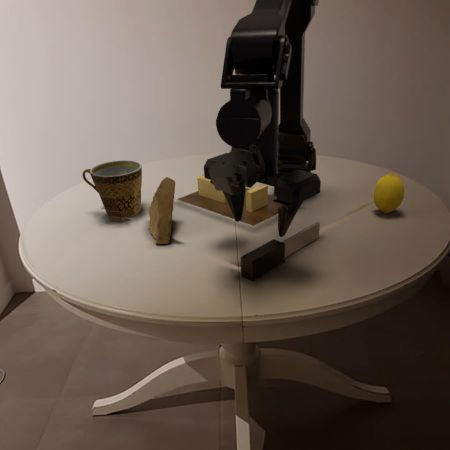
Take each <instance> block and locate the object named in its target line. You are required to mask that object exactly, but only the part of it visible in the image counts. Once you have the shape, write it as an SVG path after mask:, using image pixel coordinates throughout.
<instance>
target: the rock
mask: <svg viewBox="0 0 450 450" xmlns="http://www.w3.org/2000/svg"><path fill="white" fill-rule="evenodd" d="M175 191H176V181H175V180H173V179H172V178H170V177H168V176H166V177H164V178H163V179H162V180H161V181H160V183H159V185H158V186H157V187H156V191H155V192H154V194H153V196H152V201H151V203H150V206H149V209H148V215H149V222H148V223H149V224H148V228H147V230H149V233H150V234H151V235H152V237H153V238H154V239H155V243H156V244H157V245H168V244H169V243H170V240H171V233H172V223H173V211H174V203H175V200H174V199H175Z"/></svg>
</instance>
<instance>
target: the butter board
mask: <svg viewBox="0 0 450 450" xmlns="http://www.w3.org/2000/svg"><path fill="white" fill-rule="evenodd" d="M245 188H246V189H245V198H244V208H243V214H242V219H241V221H240V222H241V223H244V224H247V225H250V226H252V227H255V226H256V225H258V224H261V223H262V222H265V221H266V220H269V219H270V218H272V217H275V216H278V207H277V206H276V204H275V203H274V202H273V200H275V199H277V197H276V195H275V196H274V195H271V194H268V205H266V206H264V207H262V208H260V209H257V210H255V211H253V212H250V211H247V210H246V191H248V190H250V189H251V188H248V187H245ZM176 200H178V201H180V202H183V203H186V204H189V205H192V206H195V207H198V208H201V209H204V210H206V211H210V212H212V213H216V214H218V215H221V216H224V217H227V218H229V219H232V220H235V219H234V216H233V214H232V212H231V209H230V207H229V204H228V202H227V203H222V202H219V201H216V200H213V199H210V198H207V197H203V196H200V195H199V192H198V190H197V191H195V192H192V193H189V194H187V195H184V196H181V197H178V198H177V199H176Z"/></svg>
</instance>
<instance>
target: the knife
mask: <svg viewBox="0 0 450 450" xmlns="http://www.w3.org/2000/svg"><path fill="white" fill-rule="evenodd" d="M320 226H321V221H320V222H319V221H316V222H315V223H313V224H311V225H309V226H307V227H305V228H304V229H302V230H300V231H298V232H296V233H294V234H293V235H291V236H289V237H286V239H284V240H282V241H280V240H277V239H274V238H273V239H271V240H270V241H268V242H266V243H264V244H262V245H260V246H258V247H257V248H254V249H253V250H251V251H249V252H247V253H245V254H243V255H241V256H240V276H241V277H242V278H244V279H247V280H249V281H250V282H253V281H256V280H258V279H259V278H261V277H262V276H264V275H266V274H267V273H269V272H270V271H272V270H274V269H275V268H277V267H279V266H281V265H282V264H284V263H285V262H286V261H285V258H287V257H288V256H290V255H292V254H293V253H295V252H297V251H298V250H300V249H302V248H304V247H306V246H307V245H309V244H310V243H312V242H314V241H316V240H317V239H319V238H320Z"/></svg>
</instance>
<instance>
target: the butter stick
mask: <svg viewBox="0 0 450 450" xmlns="http://www.w3.org/2000/svg"><path fill="white" fill-rule="evenodd" d="M196 180H197V191H198V192H199V195H200V196H203V197H207V198H210V199H213V200H216V201H219V202H222V203H227V199H226V197H225V195H224V193H223V191H221V190H220V191H217V190H216V189H215V187H214V185H213V184H211V183H210V181H211V180H209V179H206V178H204V174H202V175H199V176H197V179H196Z"/></svg>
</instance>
